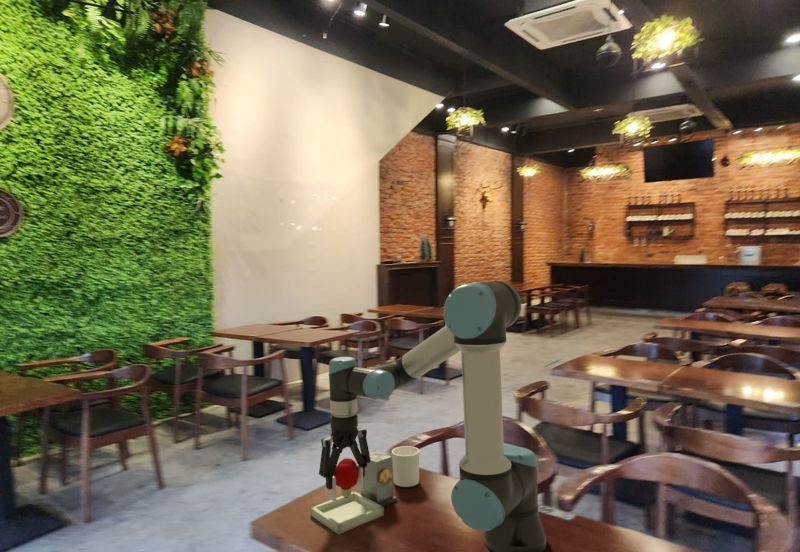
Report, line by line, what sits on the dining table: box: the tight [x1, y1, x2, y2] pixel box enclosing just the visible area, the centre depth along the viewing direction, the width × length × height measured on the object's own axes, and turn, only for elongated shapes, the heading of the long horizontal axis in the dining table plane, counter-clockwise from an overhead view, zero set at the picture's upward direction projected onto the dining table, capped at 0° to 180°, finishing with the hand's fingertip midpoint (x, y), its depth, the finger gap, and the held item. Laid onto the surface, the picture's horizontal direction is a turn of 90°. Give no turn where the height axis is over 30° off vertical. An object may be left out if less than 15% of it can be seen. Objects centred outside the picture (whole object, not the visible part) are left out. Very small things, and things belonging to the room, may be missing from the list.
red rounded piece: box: [333, 458, 359, 498], centre depth 143 cm, size 9×7×10 cm
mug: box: [391, 445, 421, 489], centre depth 164 cm, size 11×9×10 cm
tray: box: [310, 490, 385, 535], centre depth 143 cm, size 14×15×2 cm
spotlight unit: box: [358, 449, 398, 508], centre depth 152 cm, size 10×7×13 cm
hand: (346, 494), depth 143 cm, fingers closed on red rounded piece, 8 cm apart
